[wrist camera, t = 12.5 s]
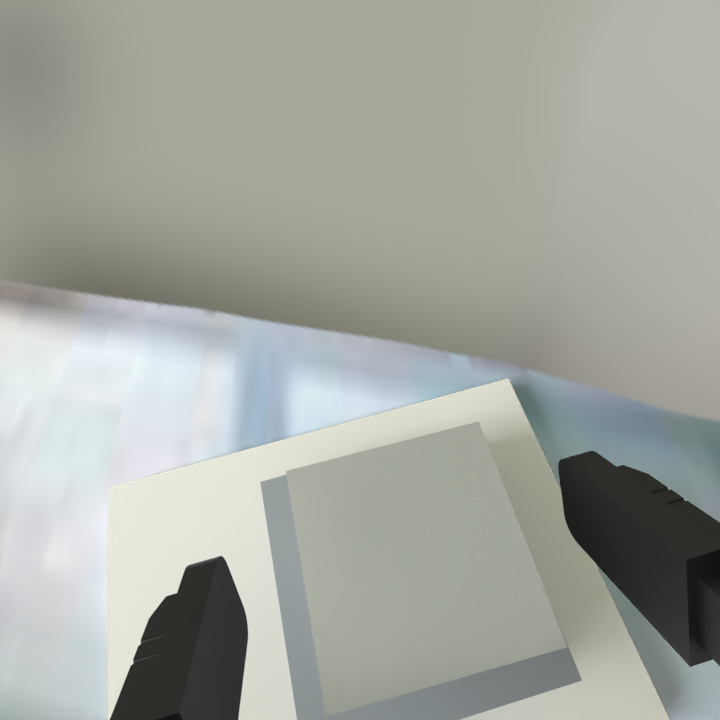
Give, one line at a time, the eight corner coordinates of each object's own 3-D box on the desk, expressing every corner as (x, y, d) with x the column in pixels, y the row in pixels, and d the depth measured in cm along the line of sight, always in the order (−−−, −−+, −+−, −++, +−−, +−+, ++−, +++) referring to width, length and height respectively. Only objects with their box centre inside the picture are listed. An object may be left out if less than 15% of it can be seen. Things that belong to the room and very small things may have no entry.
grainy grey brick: (364, 659, 16) (325, 716, 7) (340, 539, 18) (285, 471, 9) (475, 627, 16) (567, 647, 7) (438, 513, 18) (478, 421, 9)
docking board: (126, 898, 14) (34, 996, 11) (123, 493, 21) (64, 467, 17) (657, 724, 16) (737, 759, 12) (502, 389, 22) (524, 344, 18)
